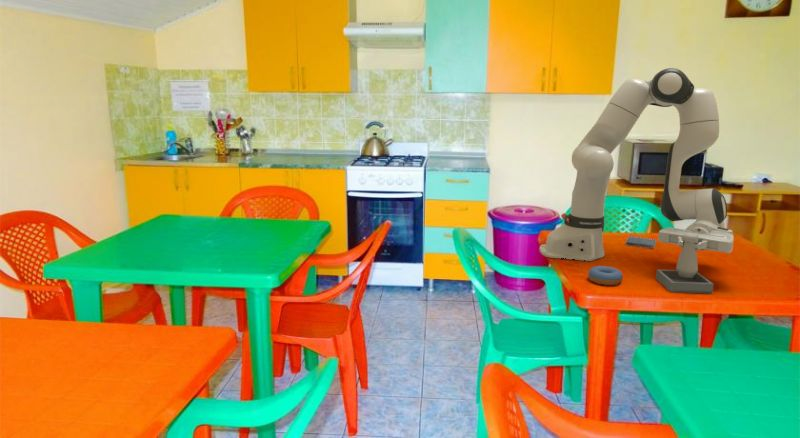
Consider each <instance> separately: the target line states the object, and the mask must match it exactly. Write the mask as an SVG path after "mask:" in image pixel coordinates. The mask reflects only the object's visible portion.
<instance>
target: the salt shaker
mask: <svg viewBox="0 0 800 438" xmlns="http://www.w3.org/2000/svg"><path fill="white" fill-rule="evenodd" d="M698 240H699V236H698V235H696V234H693V233H685V234H683V237H682V241H684V244H683V247H681V250H680V253H679V256H678V260H677V263H676V266H675V270H677V272H678V275H679V276H680V277H684V278H693V277H694V275H695V274H696V273H697V272H698V271H699V270H698V269H699V268H698V266H699V265H698V255H697V253H698V252H697V250H696V249H695V245H694V244H695V243H697V242H698Z"/></svg>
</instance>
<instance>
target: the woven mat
mask: <svg viewBox="0 0 800 438" xmlns="http://www.w3.org/2000/svg"><path fill="white" fill-rule="evenodd" d="M656 244H657V240H656V239H655V238H647V237H646V238H645V237H640V236H636V235H634V236H633V235H632V236H631V235H630V236H628V237H627V239H626V241H625V243H624V246H628V245H629V247H635V248H636V247H638V248H645V249H652V250H654V249H655V248H656Z"/></svg>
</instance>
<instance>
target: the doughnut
mask: <svg viewBox="0 0 800 438" xmlns="http://www.w3.org/2000/svg"><path fill="white" fill-rule="evenodd" d="M587 275H588V279H589V280H590V281H591V282H592V281H593V282H592V283H594V282H595V283H594V284H596V283H598V284H597V285H600V284H604V285H603V286H607V285H613V286H617V285H616V284H618V285H619V283H620V284H621V283H622V282H623V277H624V276H623V273H622V272H621V270H619V269H617V268H615V267H612V266H606V265H598V266H596V265H595V266H593V267H591V268H589V270H588V274H587Z"/></svg>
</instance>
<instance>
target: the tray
mask: <svg viewBox="0 0 800 438" xmlns="http://www.w3.org/2000/svg"><path fill="white" fill-rule="evenodd" d="M655 279H656V280H657V282H659V283H660V284H661V285H662V286H663V285H664V286H665V287H666V288H665V289H666V290H667V291H669V292H670V293H679V292H681V293H683V294H685V293H686V294H687V293H688V294H708V293H709V294H711V295H712V294H713V290H714V283H713V282H711V281H710V280H709V279H708V278H706V277H705V276H703V274H701V273H700V272H698V271H697V273H696V274H695V275H694V277H693V278H684V277H680V276H679V275H678V272H677V270H676V269H656V275H655ZM664 286H663V287H664ZM679 294H680V293H679Z"/></svg>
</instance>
